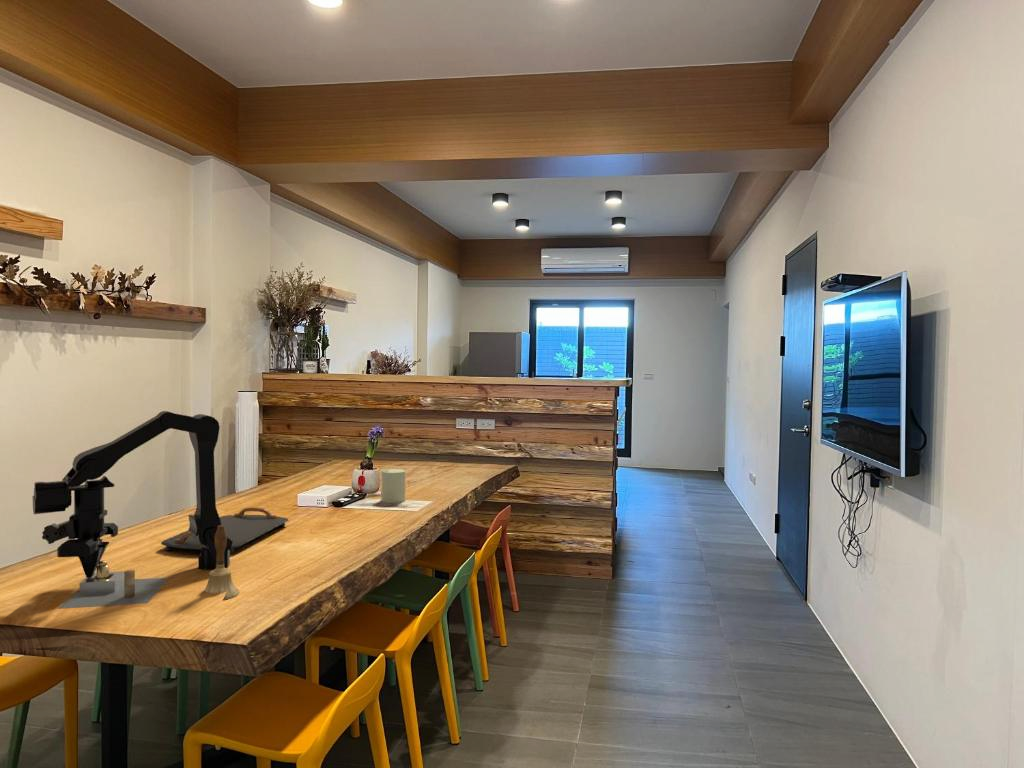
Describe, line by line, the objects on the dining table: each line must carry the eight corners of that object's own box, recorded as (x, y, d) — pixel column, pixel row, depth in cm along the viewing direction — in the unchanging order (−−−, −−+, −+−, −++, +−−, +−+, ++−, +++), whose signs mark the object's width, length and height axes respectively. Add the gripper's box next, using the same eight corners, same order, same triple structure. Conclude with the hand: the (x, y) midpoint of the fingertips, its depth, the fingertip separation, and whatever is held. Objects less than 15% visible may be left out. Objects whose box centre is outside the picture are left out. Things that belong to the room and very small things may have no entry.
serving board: (231, 560, 180) (231, 537, 179) (151, 555, 182) (151, 533, 182) (294, 525, 218) (294, 506, 218) (227, 521, 221) (227, 503, 220)
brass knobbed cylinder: (110, 585, 152) (110, 559, 152) (106, 589, 150) (106, 562, 150) (98, 586, 152) (98, 560, 152) (95, 589, 149) (94, 563, 149)
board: (169, 583, 159) (169, 577, 159) (147, 609, 142) (147, 602, 142) (89, 588, 155) (89, 581, 155) (57, 615, 138) (57, 608, 138)
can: (379, 498, 259) (380, 467, 259) (403, 497, 262) (403, 467, 261) (382, 503, 250) (382, 471, 250) (407, 502, 253) (407, 471, 253)
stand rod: (136, 594, 147) (136, 569, 147) (133, 597, 145) (133, 572, 145) (126, 595, 147) (125, 570, 146) (123, 598, 145) (122, 573, 144)
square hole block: (125, 581, 155) (125, 571, 155) (114, 592, 148) (114, 580, 148) (91, 583, 154) (91, 572, 153) (79, 594, 147) (79, 582, 147)
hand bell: (244, 588, 156) (245, 521, 156) (231, 601, 148) (231, 530, 148) (208, 588, 156) (209, 520, 156) (193, 601, 148) (193, 529, 147)
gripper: (66, 500, 157) (66, 566, 157) (28, 519, 139) (29, 593, 139) (118, 499, 159) (118, 563, 160) (88, 517, 141) (89, 590, 142)
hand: (89, 577), depth 150 cm, fingers closed
